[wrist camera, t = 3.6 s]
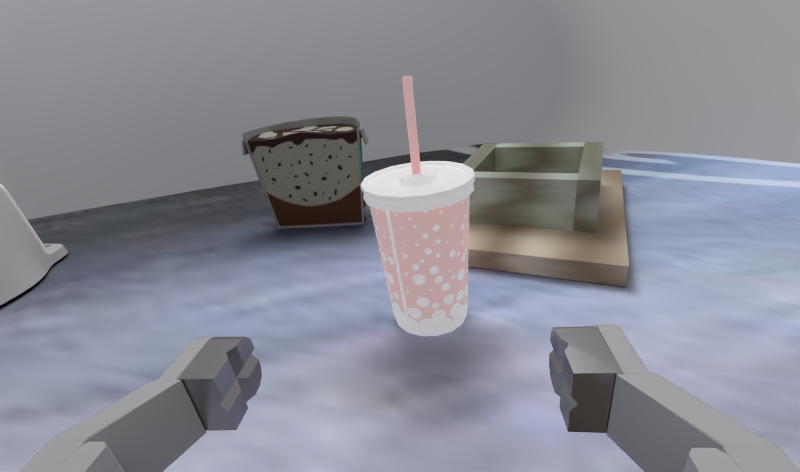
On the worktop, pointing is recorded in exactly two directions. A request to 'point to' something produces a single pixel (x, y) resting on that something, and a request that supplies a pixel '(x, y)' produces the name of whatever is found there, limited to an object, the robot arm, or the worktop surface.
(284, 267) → the worktop surface
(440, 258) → the beverage cup
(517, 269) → the collar stand
